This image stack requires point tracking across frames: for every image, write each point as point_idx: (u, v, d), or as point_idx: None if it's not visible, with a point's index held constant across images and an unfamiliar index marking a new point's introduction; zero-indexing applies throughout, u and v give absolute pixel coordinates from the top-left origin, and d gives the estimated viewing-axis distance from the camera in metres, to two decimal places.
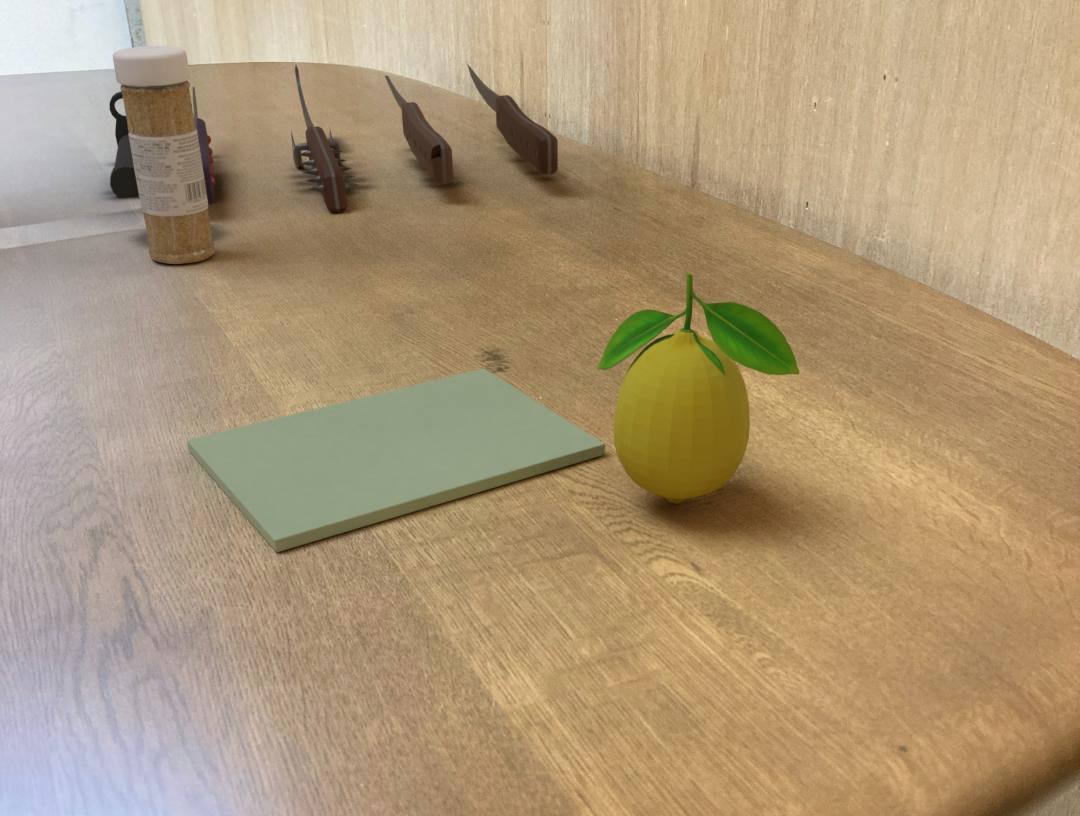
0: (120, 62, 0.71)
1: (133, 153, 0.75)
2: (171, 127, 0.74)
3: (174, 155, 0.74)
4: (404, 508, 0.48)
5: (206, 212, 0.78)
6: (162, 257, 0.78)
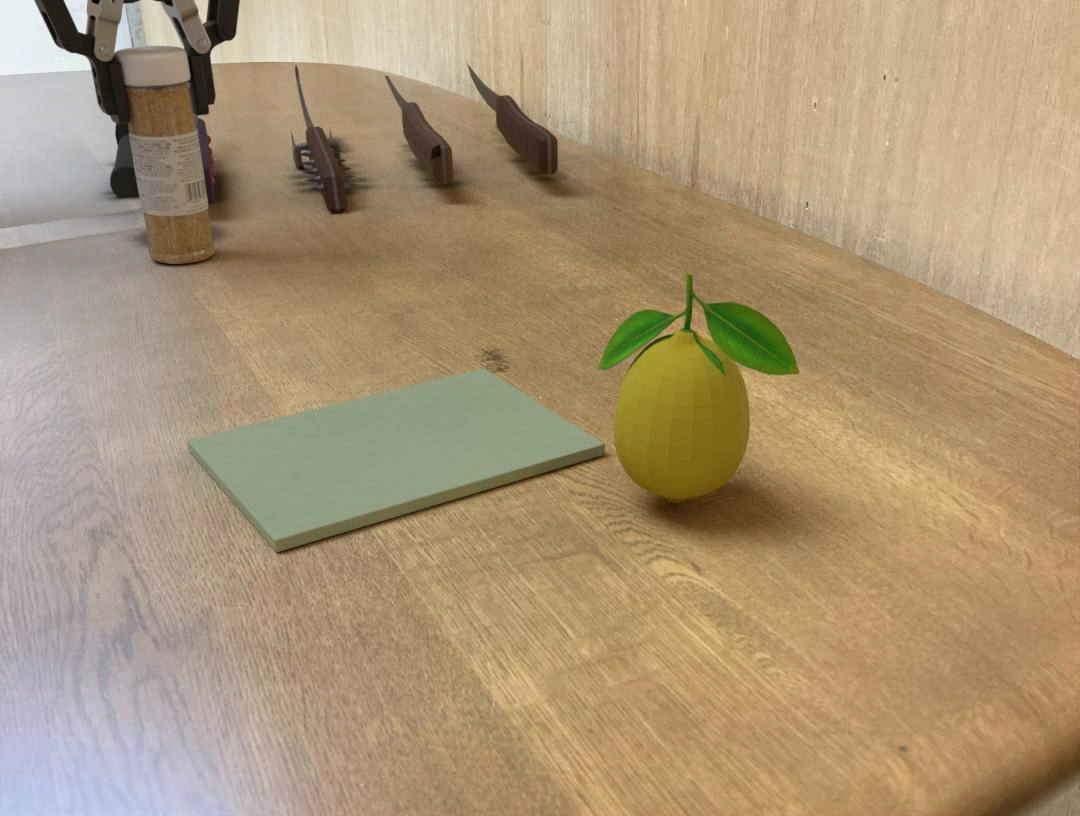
0: (121, 62, 0.71)
1: (134, 152, 0.75)
2: (171, 127, 0.74)
3: (175, 155, 0.74)
4: (404, 508, 0.48)
5: (206, 212, 0.78)
6: (162, 257, 0.78)
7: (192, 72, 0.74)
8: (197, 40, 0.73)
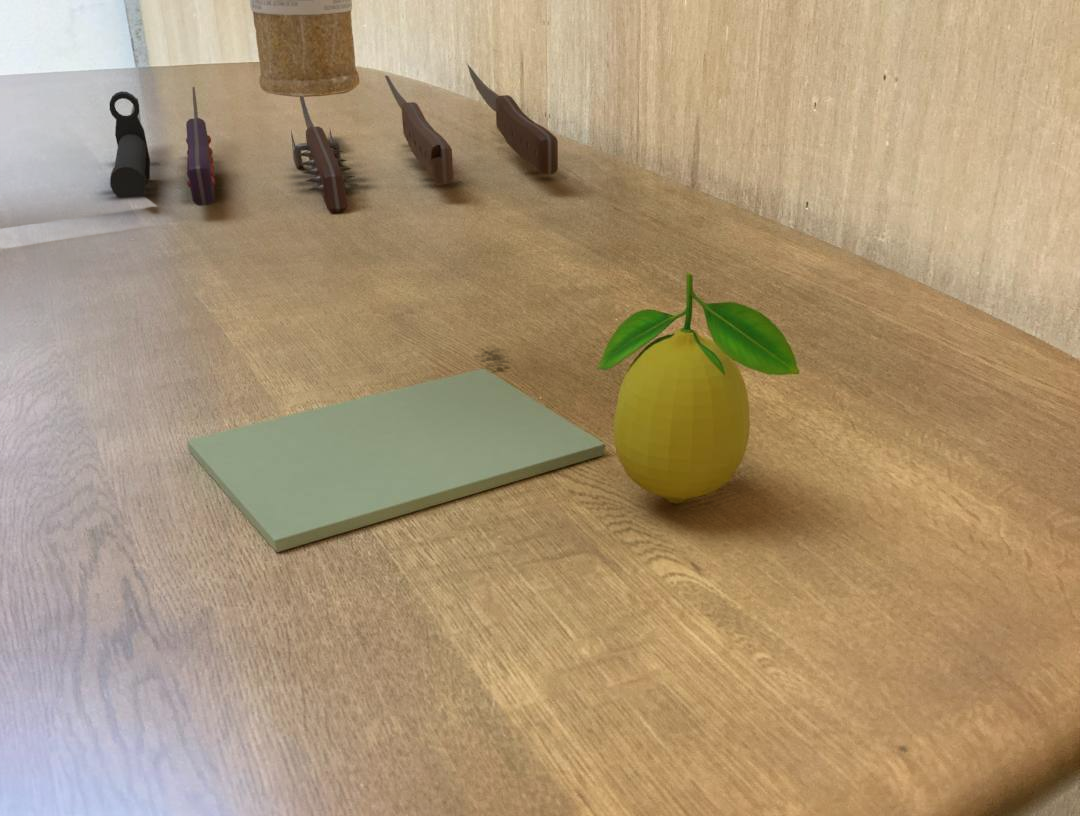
0: None
1: None
2: None
3: None
4: (404, 508, 0.48)
5: (350, 16, 0.50)
6: (283, 85, 0.50)
7: None
8: None
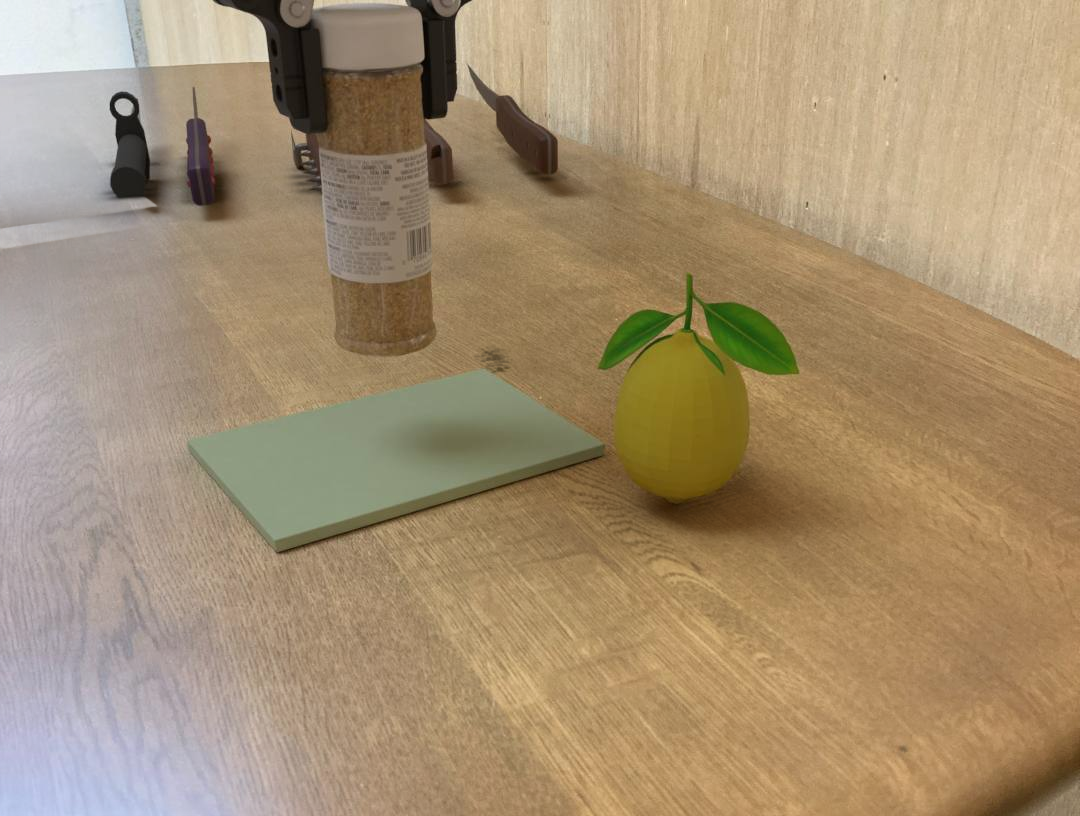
0: (320, 28, 0.42)
1: (327, 180, 0.45)
2: (395, 139, 0.44)
3: (396, 184, 0.45)
4: (404, 508, 0.48)
5: (430, 274, 0.49)
6: (361, 347, 0.48)
7: (428, 48, 0.44)
8: None
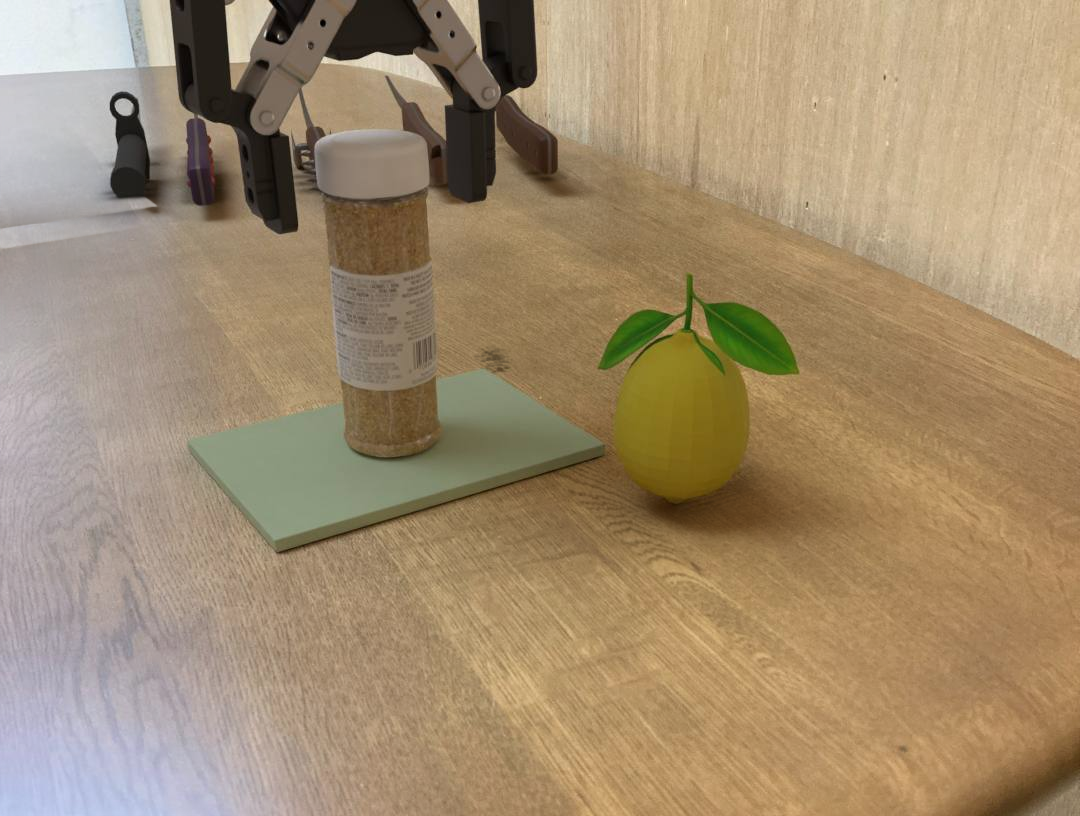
0: (331, 161, 0.44)
1: (337, 296, 0.48)
2: (402, 260, 0.47)
3: (403, 301, 0.47)
4: (404, 508, 0.48)
5: (435, 378, 0.51)
6: (369, 448, 0.51)
7: (470, 138, 0.47)
8: (482, 88, 0.46)
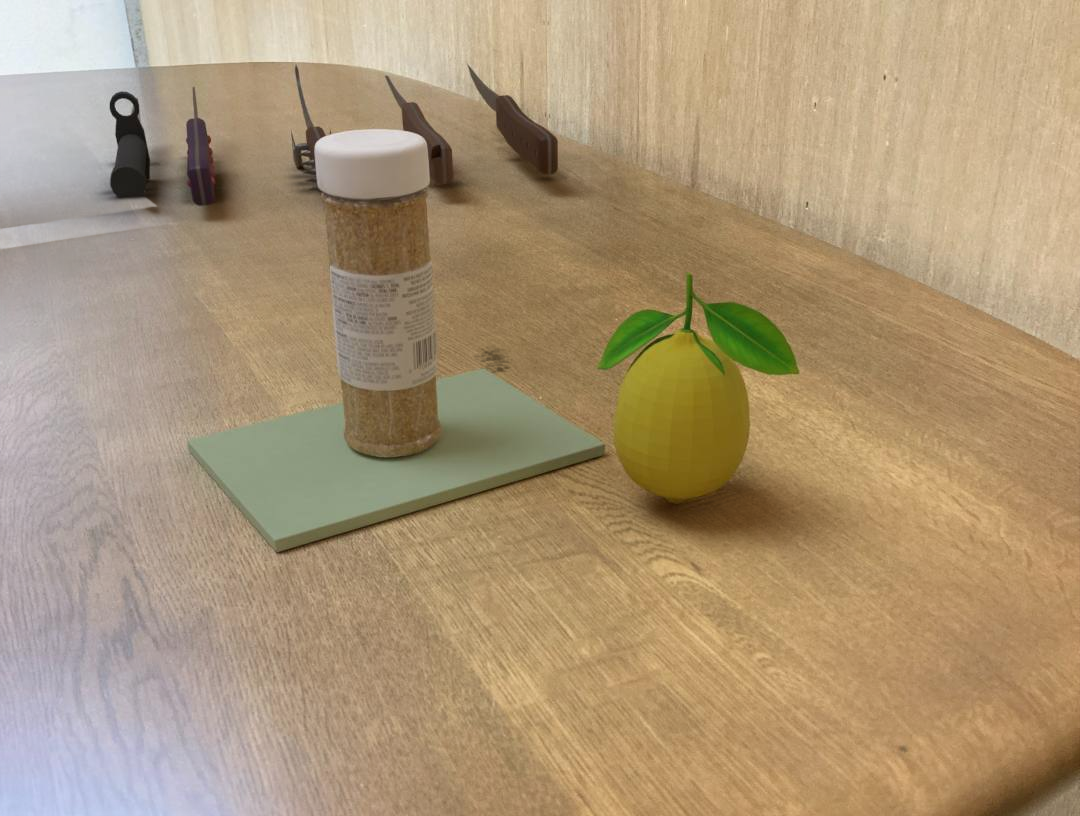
0: (331, 161, 0.44)
1: (337, 296, 0.48)
2: (402, 260, 0.47)
3: (403, 301, 0.47)
4: (404, 508, 0.48)
5: (435, 378, 0.51)
6: (369, 448, 0.51)
7: None
8: None
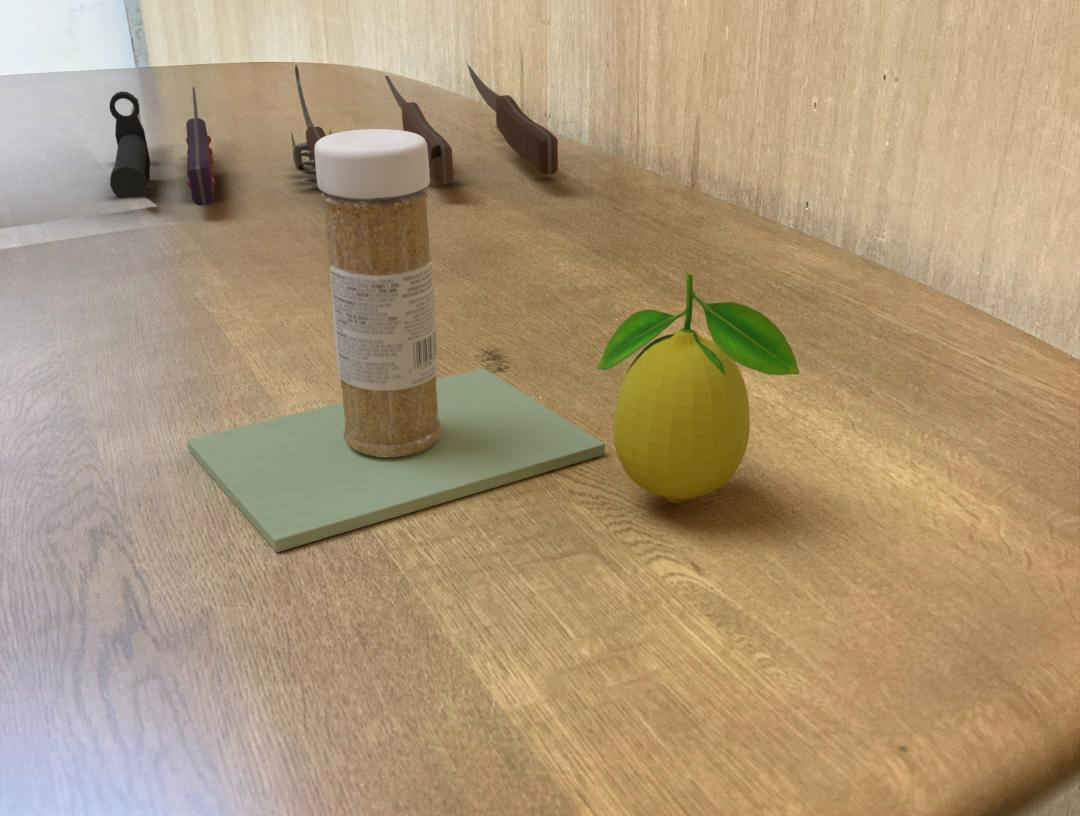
0: (331, 161, 0.44)
1: (337, 296, 0.48)
2: (402, 260, 0.47)
3: (403, 301, 0.47)
4: (404, 508, 0.48)
5: (435, 378, 0.51)
6: (369, 448, 0.51)
7: None
8: None
